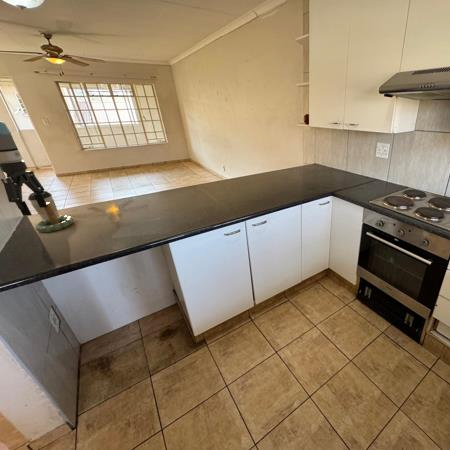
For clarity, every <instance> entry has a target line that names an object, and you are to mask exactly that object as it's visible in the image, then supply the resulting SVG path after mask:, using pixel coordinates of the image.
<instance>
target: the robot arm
mask: <svg viewBox="0 0 450 450" xmlns="http://www.w3.org/2000/svg"><path fill="white" fill-rule="evenodd" d="M0 171H1V172H2V173H4V174H6V177H1V178H0V181H1V182H2V184H3V187H4V189H5V190H4V191H5V194H6V197H7V201H8V202H9V203H14V204H15V205H16V207H17V208H18V210H19V211H20V212H21V214H22V216H23V217H28V216H33V214H32V212H31V210H30V208H29V206H28V204H27V202H26V200H23V188H22V187H23V186H24V185H25V186H26V187H27V188H29V189H30V190H31V192H32V193H35V194H34V197H35V199H36V201H37V203H38V205H39V207H40V208H42V207H48V206H47V204H46V202H45V200H44V197H43V195H42V193H44V191H45V188H44V187H43V184H41V182H40V180H39V179H38V178H37V176H36V175H35V172H34V170H28V166H27V164H26V161H25V160H23V156H22V154H21V152H20V150H19V147H18V146H17V143H16V142H15V140H14V138H13V135H12V132H11V130H10V129H9V128H8V126H7V124H6V123H5V122H3V121H2V120H1V121H0Z"/></svg>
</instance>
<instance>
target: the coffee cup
mask: <svg viewBox="0 0 450 450" xmlns="http://www.w3.org/2000/svg"><path fill="white" fill-rule="evenodd" d="M34 194H35V193H34V192H32V193H29V196H27V198H28V199H27V200H28V201H29V202H30V204H31V206H32V207H33V209H34V210H35V212H36V213H37V214H38V215H39V217H40V218H41V221H43V220H46V219H49V218H48V216H47V214H46V212H45V210H44V209H43V207H42V208H40V207H39V205H38V203H37V201H36V199H35V197H34ZM42 195H43V197H44V200H45V202H46V203H48V202H49V203H50V204H51V206H52V208H53V210H54V212H55V214H56V216H60V214H59V211H58V207H57V205H56V203H55V199H54V198H53V194H52V193H50V192H48V191H47V190H44V193H42Z"/></svg>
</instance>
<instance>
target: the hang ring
mask: <svg viewBox="0 0 450 450" xmlns="http://www.w3.org/2000/svg"><path fill="white" fill-rule="evenodd" d="M57 218H58V220H59V222H61V223H58V224H54V225H51V222H50V220H49V219H46V220H41V221H39V222H37V223H36V224H35V227H34V229H35V231H36V232H39V233H51V232H56V231H61V230H63V229H65V228H69V227H70V226H71V225H73V224H74V218H73V216H69V215H59V216H57ZM48 225H49V226H48Z"/></svg>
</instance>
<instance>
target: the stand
mask: <svg viewBox="0 0 450 450" xmlns="http://www.w3.org/2000/svg"><path fill="white" fill-rule="evenodd" d="M46 204H47V206H48V207H43V209H44V210H45V212H46V214H47V216H48V218H49V220H50V222H51V225H54V224H58V223H61V222H59V220H58V218H57V216H56V214H55V212H54V210H53V208H52V206H51V204H50V203H49V202H48V203H46ZM48 226H49V225H48Z"/></svg>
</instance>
